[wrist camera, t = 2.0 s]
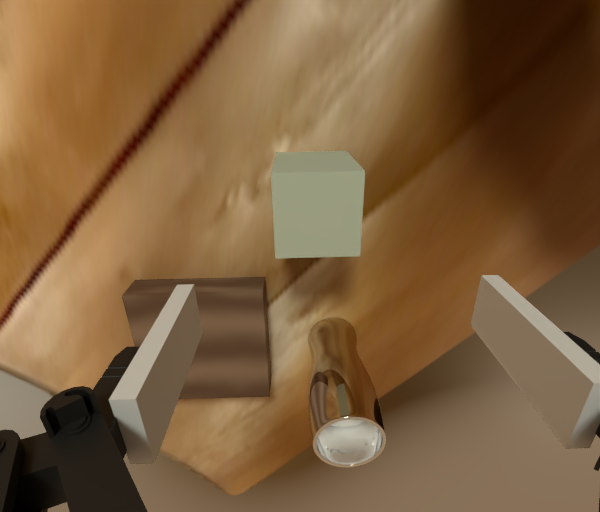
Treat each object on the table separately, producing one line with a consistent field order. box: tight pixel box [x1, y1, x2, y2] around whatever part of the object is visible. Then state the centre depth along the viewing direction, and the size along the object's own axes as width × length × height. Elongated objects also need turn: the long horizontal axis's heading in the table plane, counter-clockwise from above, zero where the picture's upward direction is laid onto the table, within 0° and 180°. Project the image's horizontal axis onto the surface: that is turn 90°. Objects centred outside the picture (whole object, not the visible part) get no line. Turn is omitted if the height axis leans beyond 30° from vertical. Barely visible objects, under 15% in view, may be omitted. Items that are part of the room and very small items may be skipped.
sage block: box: [271, 151, 365, 258], centre depth 32 cm, size 7×7×10 cm
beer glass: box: [308, 318, 386, 467], centre depth 38 cm, size 7×7×15 cm
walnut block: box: [122, 277, 271, 399], centre depth 43 cm, size 15×15×4 cm
